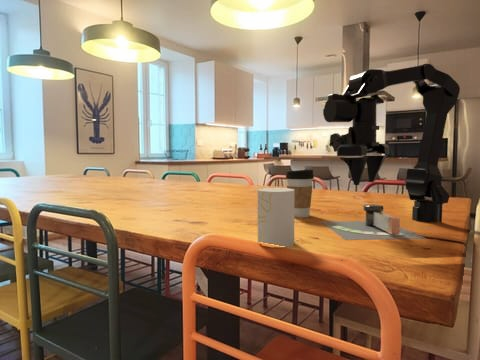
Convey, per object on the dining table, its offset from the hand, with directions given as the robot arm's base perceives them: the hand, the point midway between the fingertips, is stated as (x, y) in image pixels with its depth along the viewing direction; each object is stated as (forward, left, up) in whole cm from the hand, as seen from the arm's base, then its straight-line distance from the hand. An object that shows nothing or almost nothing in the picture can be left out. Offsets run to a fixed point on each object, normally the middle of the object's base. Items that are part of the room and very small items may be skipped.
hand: (364, 183), depth 88 cm
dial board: (0, +4, -12) cm, 13 cm away
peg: (-3, +5, -11) cm, 12 cm away
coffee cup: (+13, -16, -12) cm, 24 cm away
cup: (+24, +12, -12) cm, 30 cm away
